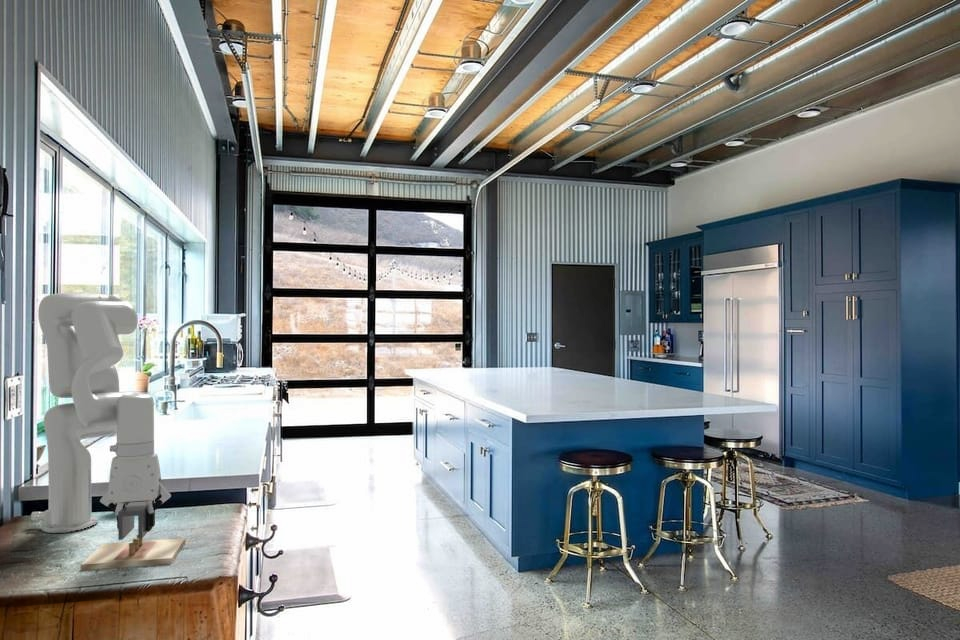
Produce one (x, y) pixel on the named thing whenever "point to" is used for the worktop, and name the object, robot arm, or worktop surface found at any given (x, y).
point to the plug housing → (132, 519)
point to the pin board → (134, 553)
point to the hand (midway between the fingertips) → (136, 530)
